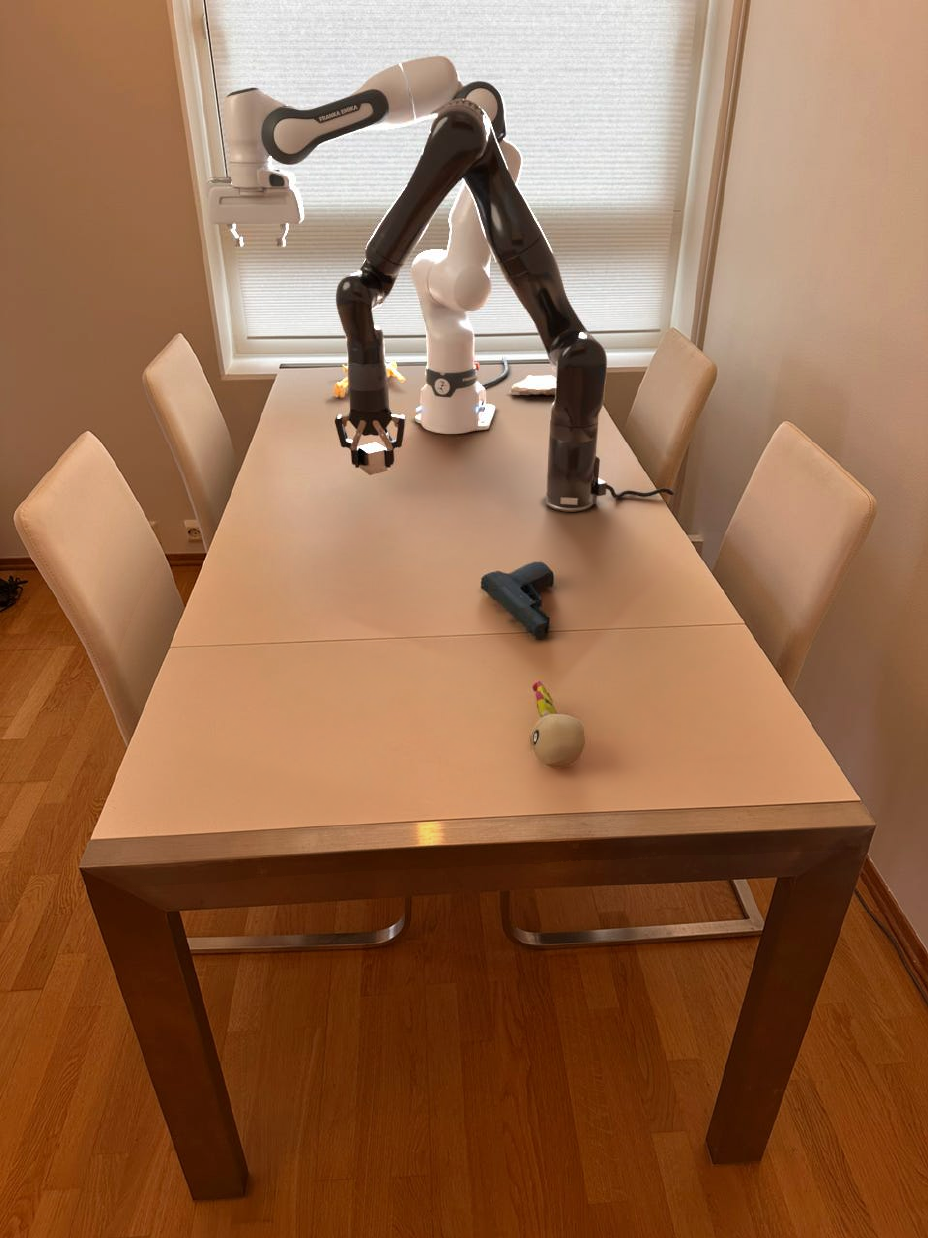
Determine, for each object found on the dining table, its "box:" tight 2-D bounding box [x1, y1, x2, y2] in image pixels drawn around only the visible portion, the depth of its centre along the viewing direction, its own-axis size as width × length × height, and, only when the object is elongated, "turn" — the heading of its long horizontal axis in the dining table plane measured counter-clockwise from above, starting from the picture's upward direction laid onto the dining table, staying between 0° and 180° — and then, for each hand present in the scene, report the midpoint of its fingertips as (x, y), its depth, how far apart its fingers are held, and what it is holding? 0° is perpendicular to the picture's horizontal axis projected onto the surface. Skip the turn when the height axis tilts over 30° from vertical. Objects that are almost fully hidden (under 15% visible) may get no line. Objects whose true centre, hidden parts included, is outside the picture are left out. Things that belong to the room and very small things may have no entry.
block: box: [358, 442, 388, 476], centre depth 177 cm, size 4×4×5 cm
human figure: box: [333, 361, 408, 398], centre depth 242 cm, size 20×20×4 cm
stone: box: [509, 375, 557, 396], centre depth 238 cm, size 13×12×2 cm
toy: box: [529, 680, 586, 769], centre depth 115 cm, size 6×7×15 cm
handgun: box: [480, 561, 555, 640], centre depth 143 cm, size 3×18×12 cm
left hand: (260, 245), depth 197 cm, fingers open, 8 cm apart
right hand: (373, 465), depth 178 cm, fingers closed on block, 5 cm apart
